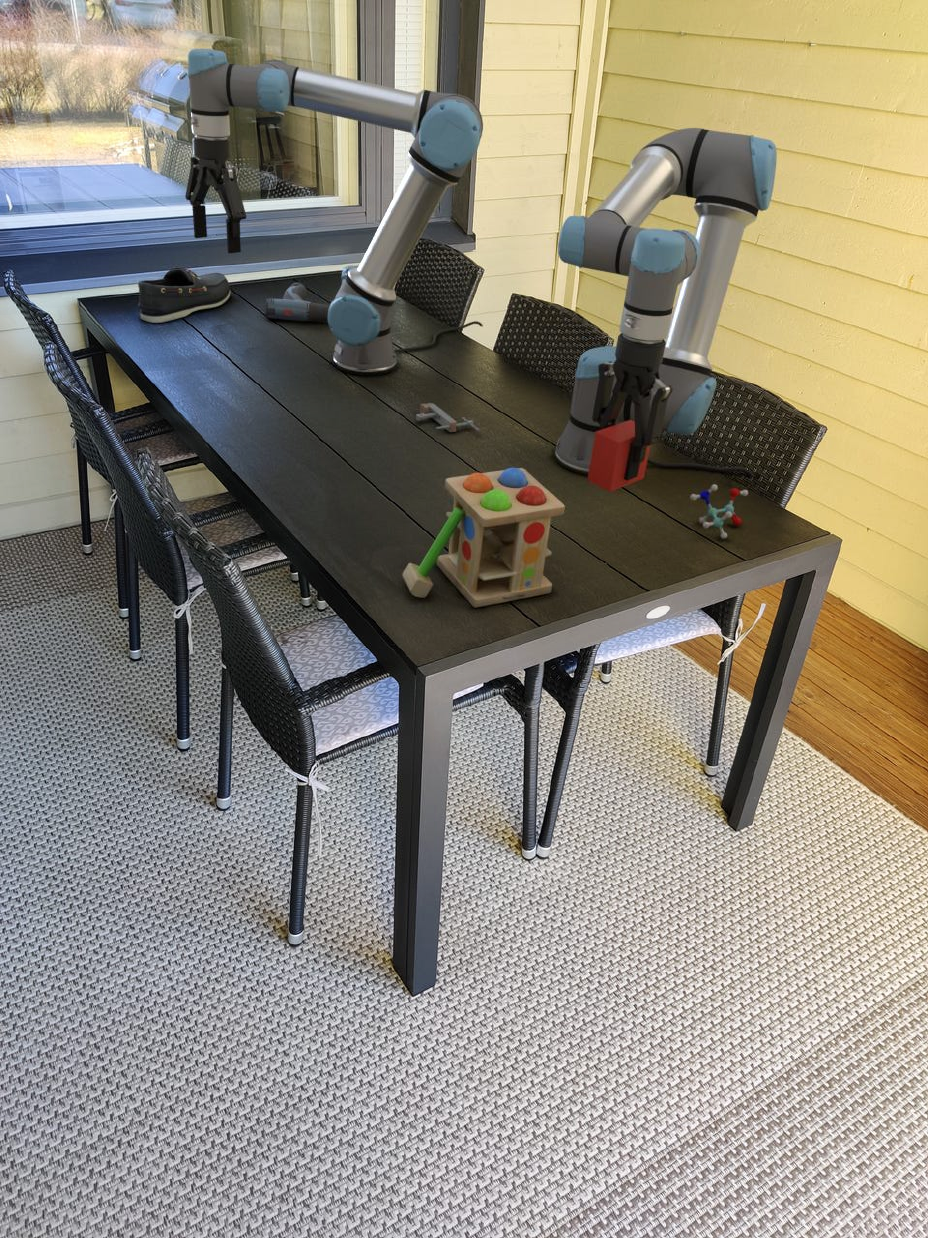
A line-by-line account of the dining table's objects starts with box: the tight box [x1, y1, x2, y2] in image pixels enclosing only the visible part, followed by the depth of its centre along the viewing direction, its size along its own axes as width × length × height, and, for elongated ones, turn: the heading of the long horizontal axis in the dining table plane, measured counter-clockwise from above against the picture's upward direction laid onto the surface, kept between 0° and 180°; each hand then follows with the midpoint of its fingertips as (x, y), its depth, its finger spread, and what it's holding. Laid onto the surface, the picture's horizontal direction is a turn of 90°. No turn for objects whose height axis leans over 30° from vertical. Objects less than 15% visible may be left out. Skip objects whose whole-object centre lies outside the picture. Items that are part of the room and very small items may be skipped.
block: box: [586, 420, 652, 493], centre depth 164 cm, size 5×9×9 cm, turn 133°
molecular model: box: [689, 483, 749, 540], centre depth 181 cm, size 12×10×10 cm
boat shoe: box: [137, 266, 232, 324], centre depth 260 cm, size 13×33×10 cm, turn 147°
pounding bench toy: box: [401, 467, 566, 608], centre depth 155 cm, size 23×14×18 cm, turn 116°
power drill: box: [264, 282, 330, 322], centre depth 265 cm, size 5×19×20 cm
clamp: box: [415, 402, 482, 434], centre depth 211 cm, size 15×2×10 cm
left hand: (217, 244), depth 212 cm, fingers open, 13 cm apart
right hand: (617, 471), depth 166 cm, fingers closed on block, 5 cm apart
